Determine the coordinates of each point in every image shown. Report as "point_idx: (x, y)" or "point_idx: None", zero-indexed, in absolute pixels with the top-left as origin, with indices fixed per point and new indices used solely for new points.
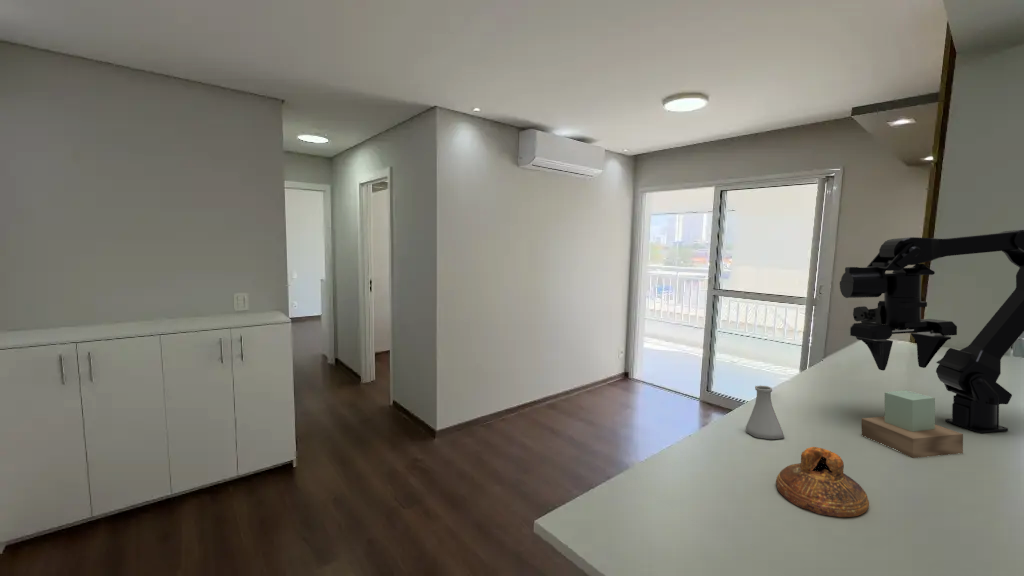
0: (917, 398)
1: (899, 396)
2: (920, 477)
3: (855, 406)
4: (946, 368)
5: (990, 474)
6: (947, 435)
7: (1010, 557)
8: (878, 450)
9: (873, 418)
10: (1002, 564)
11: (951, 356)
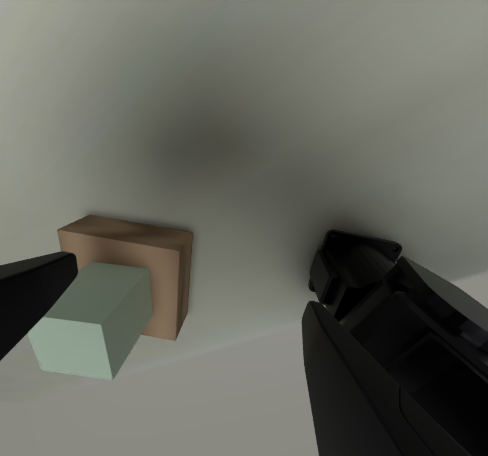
0: (65, 368)
1: (33, 346)
2: None
3: (250, 48)
4: (378, 360)
5: (152, 350)
6: (144, 334)
7: (26, 401)
8: None
9: (83, 240)
10: (13, 402)
11: (459, 438)
